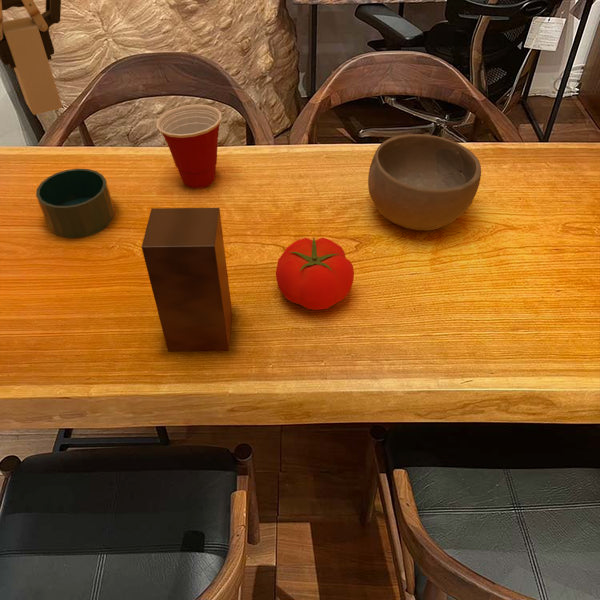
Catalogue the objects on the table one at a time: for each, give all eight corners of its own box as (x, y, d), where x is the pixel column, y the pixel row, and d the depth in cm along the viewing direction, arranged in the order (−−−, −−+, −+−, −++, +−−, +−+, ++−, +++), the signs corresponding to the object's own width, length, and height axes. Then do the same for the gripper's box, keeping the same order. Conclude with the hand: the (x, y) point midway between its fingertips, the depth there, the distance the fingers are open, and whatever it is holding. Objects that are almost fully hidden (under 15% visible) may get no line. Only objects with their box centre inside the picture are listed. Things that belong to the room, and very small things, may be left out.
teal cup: (58, 246, 91) (46, 215, 87) (40, 211, 98) (28, 181, 93) (123, 224, 95) (115, 193, 91) (102, 191, 102) (93, 161, 97)
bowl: (467, 185, 103) (479, 134, 96) (472, 251, 91) (487, 198, 83) (368, 177, 105) (374, 126, 98) (361, 240, 92) (366, 187, 85)
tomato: (276, 268, 88) (275, 229, 83) (349, 267, 88) (352, 228, 83) (275, 320, 80) (274, 281, 75) (355, 319, 81) (359, 280, 75)
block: (33, 115, 80) (4, 33, 72) (26, 103, 83) (-3, 22, 75) (62, 107, 82) (37, 26, 74) (54, 96, 84) (29, 16, 76)
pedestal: (167, 351, 77) (141, 247, 64) (174, 312, 82) (151, 208, 69) (228, 350, 77) (214, 246, 64) (232, 311, 82) (219, 207, 69)
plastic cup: (190, 156, 109) (181, 95, 101) (239, 172, 106) (234, 110, 97) (154, 186, 103) (141, 123, 94) (205, 203, 99) (196, 140, 90)
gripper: (35, -104, 70) (74, 41, 83) (-95, -88, 65) (-33, 64, 77) (52, -91, 66) (91, 60, 78) (-86, -73, 61) (-21, 86, 73)
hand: (29, 61), depth 78 cm, fingers closed on block, 4 cm apart
